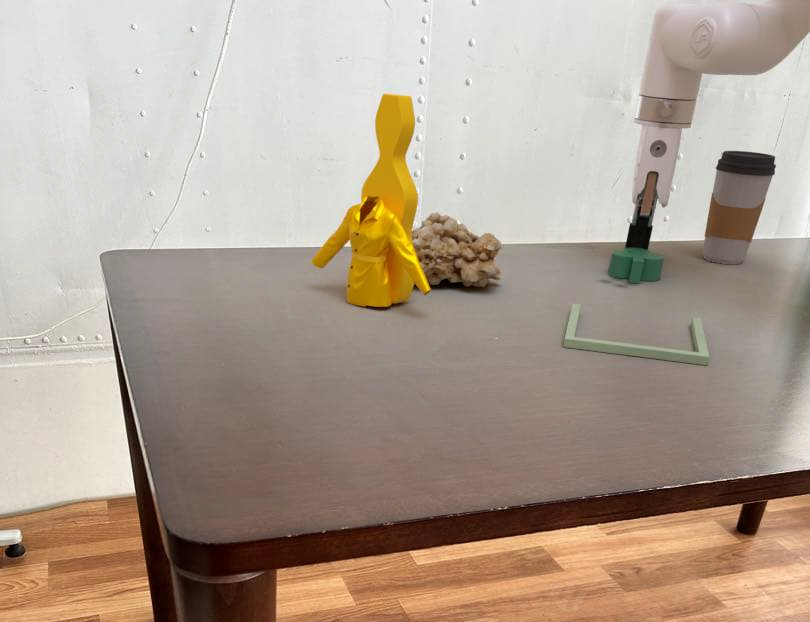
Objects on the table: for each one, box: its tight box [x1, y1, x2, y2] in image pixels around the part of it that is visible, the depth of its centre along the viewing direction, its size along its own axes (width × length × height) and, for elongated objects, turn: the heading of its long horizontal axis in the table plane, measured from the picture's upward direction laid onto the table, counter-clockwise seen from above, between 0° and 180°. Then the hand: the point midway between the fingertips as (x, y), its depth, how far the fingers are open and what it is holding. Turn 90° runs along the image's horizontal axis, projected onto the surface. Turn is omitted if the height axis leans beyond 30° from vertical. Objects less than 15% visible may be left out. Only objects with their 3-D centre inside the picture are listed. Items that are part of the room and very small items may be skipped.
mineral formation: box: [412, 212, 503, 288], centre depth 107 cm, size 8×13×15 cm
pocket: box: [562, 303, 710, 366], centre depth 92 cm, size 14×15×1 cm
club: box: [607, 247, 665, 285], centre depth 115 cm, size 8×7×3 cm
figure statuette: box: [310, 93, 432, 308], centre depth 92 cm, size 18×8×22 cm, turn 53°
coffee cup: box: [701, 150, 777, 265], centre depth 123 cm, size 8×8×15 cm
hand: (635, 253), depth 119 cm, fingers closed
